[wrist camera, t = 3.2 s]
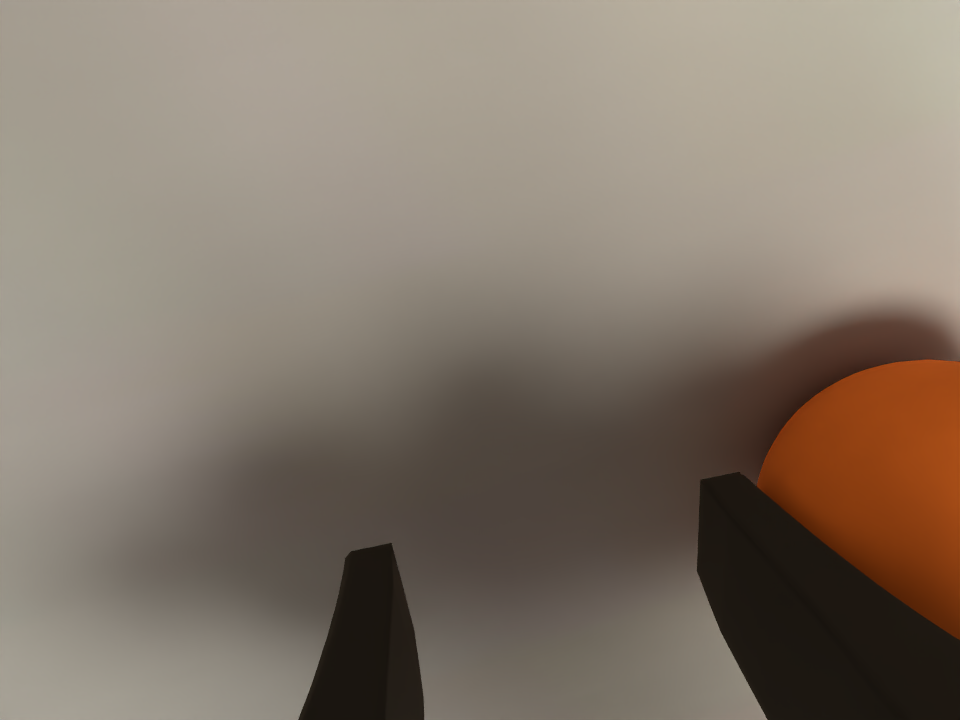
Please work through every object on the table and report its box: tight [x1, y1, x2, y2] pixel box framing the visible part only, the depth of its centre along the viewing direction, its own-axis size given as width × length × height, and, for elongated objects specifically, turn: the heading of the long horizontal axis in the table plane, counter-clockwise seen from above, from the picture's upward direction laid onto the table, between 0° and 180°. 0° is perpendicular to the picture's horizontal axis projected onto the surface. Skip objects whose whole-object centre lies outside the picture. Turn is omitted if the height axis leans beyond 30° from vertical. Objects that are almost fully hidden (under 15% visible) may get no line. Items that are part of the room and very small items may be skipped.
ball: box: [757, 359, 960, 640], centre depth 12 cm, size 5×5×5 cm
